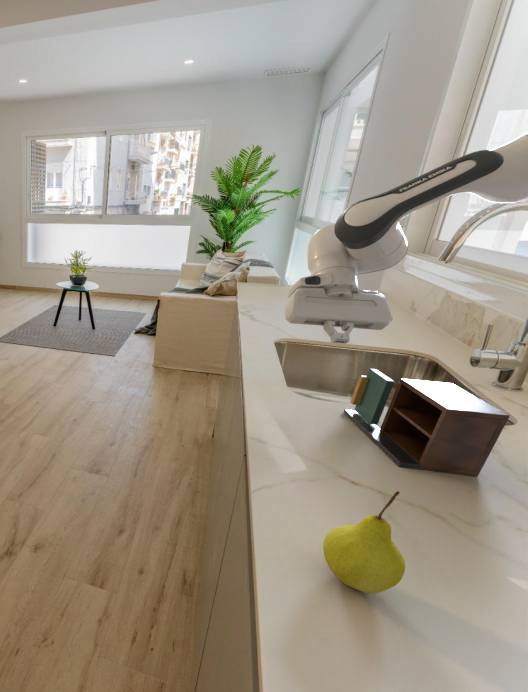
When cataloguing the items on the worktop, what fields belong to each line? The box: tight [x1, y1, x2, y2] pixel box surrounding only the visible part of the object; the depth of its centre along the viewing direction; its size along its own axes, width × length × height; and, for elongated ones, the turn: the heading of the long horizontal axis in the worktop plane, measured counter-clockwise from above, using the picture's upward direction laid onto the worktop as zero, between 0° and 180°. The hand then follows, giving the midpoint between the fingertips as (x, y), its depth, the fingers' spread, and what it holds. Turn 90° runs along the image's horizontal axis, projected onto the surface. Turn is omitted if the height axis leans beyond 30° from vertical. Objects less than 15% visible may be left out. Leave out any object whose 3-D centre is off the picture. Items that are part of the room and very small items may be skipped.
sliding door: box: [349, 368, 395, 426], centre depth 81 cm, size 2×6×9 cm, turn 168°
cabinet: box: [342, 378, 510, 478], centre depth 74 cm, size 11×19×11 cm, turn 168°
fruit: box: [322, 490, 406, 595], centre depth 46 cm, size 7×7×12 cm
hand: (340, 342), depth 93 cm, fingers closed
